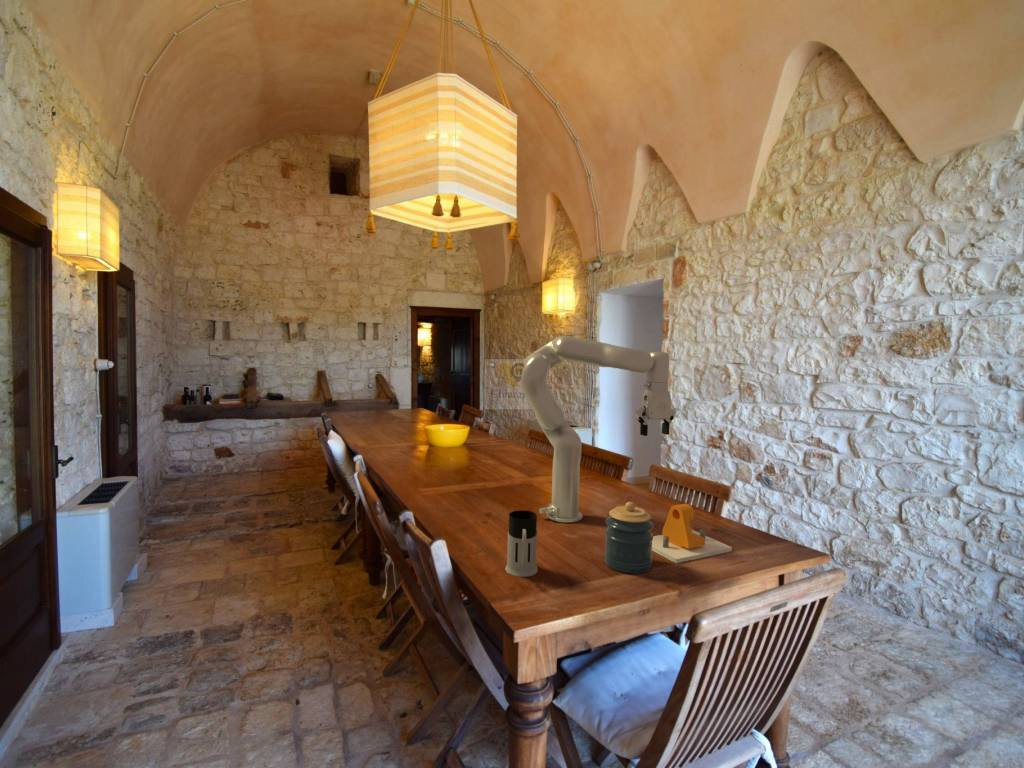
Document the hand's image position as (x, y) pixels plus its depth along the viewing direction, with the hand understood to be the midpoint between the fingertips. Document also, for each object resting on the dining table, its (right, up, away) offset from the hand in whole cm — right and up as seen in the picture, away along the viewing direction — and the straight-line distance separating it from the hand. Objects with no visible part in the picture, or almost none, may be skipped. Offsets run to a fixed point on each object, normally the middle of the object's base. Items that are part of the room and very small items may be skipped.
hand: (654, 434), depth 174 cm
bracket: (+2, -31, -25) cm, 40 cm away
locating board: (+2, -32, -25) cm, 40 cm away
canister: (-19, -32, -38) cm, 53 cm away
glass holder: (-48, -32, -45) cm, 74 cm away
